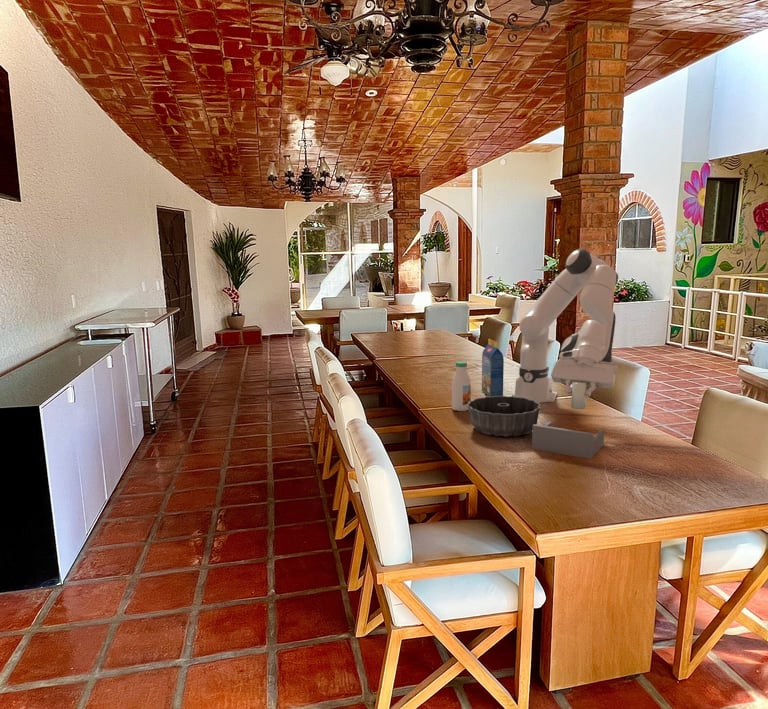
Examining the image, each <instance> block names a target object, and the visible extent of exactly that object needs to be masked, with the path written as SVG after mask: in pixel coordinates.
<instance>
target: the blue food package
mask: <svg viewBox="0 0 768 709" xmlns="http://www.w3.org/2000/svg"><path fill="white" fill-rule="evenodd" d="M498 345H499V344H498V341H495V340H494V339H491V338H488V344H487V345H486V346H485V348H483V350H482V355H481V391H482V392H483V394H485V395H486V394H487V395H486V396H487V397H492V396H504V368H505V367H504V366H505V365H504V362H505V361H504V360H505V359H504V355H503V352H502V351H500V349H499V348H498V347H499V346H498Z"/></svg>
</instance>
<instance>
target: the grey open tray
mask: <svg viewBox="0 0 768 709" xmlns="http://www.w3.org/2000/svg"><path fill="white" fill-rule="evenodd" d="M552 424H553V423H552V421H547V422H546V423H544V424H543V425H542V424H537V425H536V424H534V425H533V430H532V431H531V432H532V433H531V435H532V436H531V439H532V440H531V449H532V450H539V451H544V452H549V453H555V454H561V455H567V456H570V457H571V456H572V457H577V458H583V459H589V460H592V459H593V458H594V457H595V455H596V454H597V453H598V452H599V451H600V449H601V448H602V447H603V446H604V444H605V429H603V428H600V430H599V431H597V433H596V434H595V435H594V433H592V432H588V431H587V432H586V431H580V430H573V429H567V428H561V427H560V428H559V427H554V426H552Z"/></svg>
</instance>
